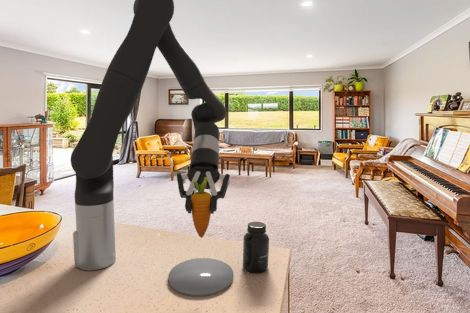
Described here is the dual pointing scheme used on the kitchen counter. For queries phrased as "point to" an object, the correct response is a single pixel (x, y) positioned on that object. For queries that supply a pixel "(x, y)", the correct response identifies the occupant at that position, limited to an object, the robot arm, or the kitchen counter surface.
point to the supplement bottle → (255, 248)
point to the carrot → (201, 208)
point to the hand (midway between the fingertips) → (200, 211)
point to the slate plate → (200, 277)
